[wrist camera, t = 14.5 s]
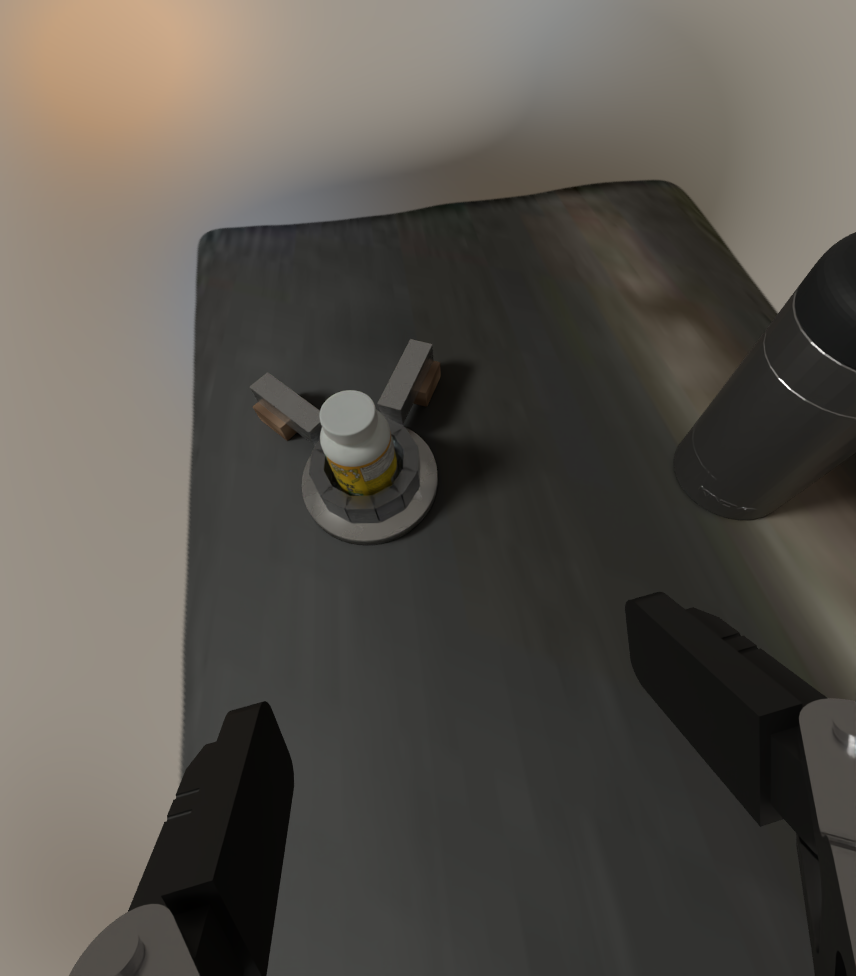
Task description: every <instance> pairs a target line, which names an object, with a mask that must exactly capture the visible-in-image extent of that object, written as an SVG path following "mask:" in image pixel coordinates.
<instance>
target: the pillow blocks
mask: <svg viewBox="0 0 856 976" xmlns="http://www.w3.org/2000/svg"><path fill="white" fill-rule="evenodd" d="M440 377H441V372H440V362H437V361H433V363H432V365H431V367H430V369H429V371H428V373H427V375H426V377H425V379H424V382H423V384H422V386H421V388H420V390H419V392H418V394H417V396H416V398H415V401H414V404H417V405H421V406H425V407H427V406H428V404H429V401H430V399H431V397H432V395H433V393H434V390H435V388H436V386H437V384H438V382H439V379H440ZM253 408H254V410H255V411H256V413H257V415H258V416H259V418H260V420H262V421H263V422H264V423H265V424H267V425H268V426H269V427H270V428H272V429H273V430H274V431H275V432H277V433H278V434H279V435H281V436H282V437H283V438H284V439H286V440H287V441H288V440H289V439H290V438H291V437H292V436H294V435H295V434H296V433H297V432H296V431H295V430H294V429H292V428H291V427H290V426H288V425H287V424H286V423H285V422H283V421H282V420H281V419H279V418H278V417H277V416H275V415H274V414H273V413H272V412H270V411H269V410H268V409H266V408H265V407H264V406H263V405H261V404H260V403H259V402H258V403H257V404H255V405H254V406H253Z"/></svg>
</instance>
